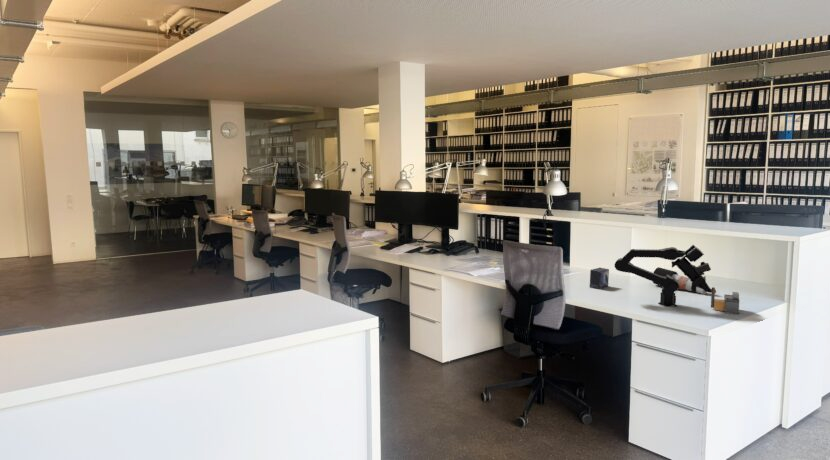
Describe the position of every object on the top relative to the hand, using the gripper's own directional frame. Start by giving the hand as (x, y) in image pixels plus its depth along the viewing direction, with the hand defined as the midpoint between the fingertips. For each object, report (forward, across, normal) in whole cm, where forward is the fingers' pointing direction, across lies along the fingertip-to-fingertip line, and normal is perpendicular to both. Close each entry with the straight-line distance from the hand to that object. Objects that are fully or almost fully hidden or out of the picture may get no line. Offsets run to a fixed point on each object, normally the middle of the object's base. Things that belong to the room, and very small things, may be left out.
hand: (711, 291), depth 275 cm
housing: (+12, 0, 0) cm, 12 cm away
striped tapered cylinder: (-2, +39, +15) cm, 41 cm away
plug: (+9, 0, +4) cm, 10 cm away
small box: (-34, +28, +46) cm, 64 cm away
